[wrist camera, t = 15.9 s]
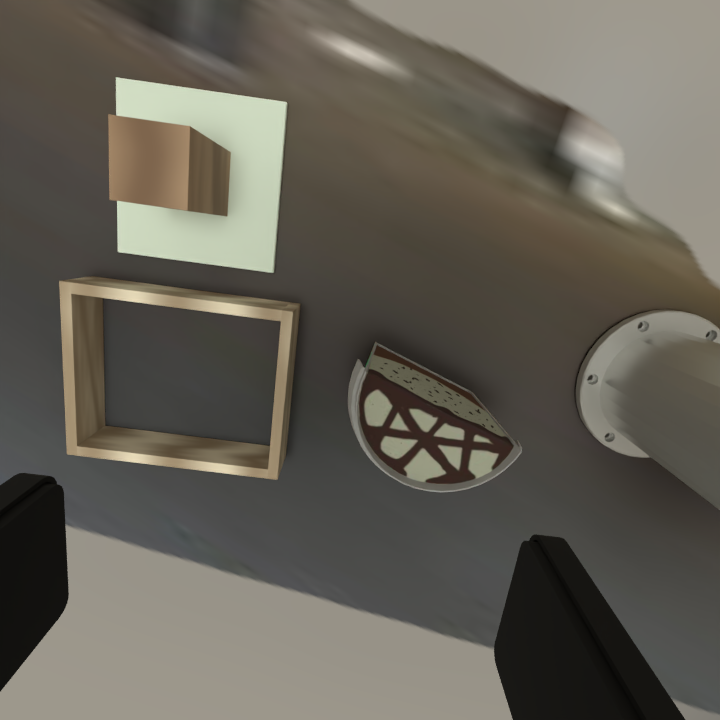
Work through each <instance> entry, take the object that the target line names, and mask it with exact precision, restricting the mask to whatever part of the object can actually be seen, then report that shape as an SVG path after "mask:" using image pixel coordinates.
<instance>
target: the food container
mask: <svg viewBox="0 0 720 720" xmlns="http://www.w3.org/2000/svg"><path fill="white" fill-rule="evenodd" d="M348 410H349V416H350V420H351V424H352V427H353V430H354V432H355V434H356V436H357V439H358V441H359V443H360V445H361V446H362V448H363V450H364V451H365V453H366V454H367V456H368V457H369V458H370V459H371V460H372V462H373V463H374V464H375V465H376V466H377V467H378V468H379V469H381V470H382V471H383V472H384V473H386V474H387V475H389V476H390V477H392V478H394V479H395V480H397V481H399V482H401V483H403V484H405V485H408V486H410V487H413V488H416V489H420V490H425V491H432V492H455V491H460V490H465V489H469V488H472V487H475V486H478V485H481V484H483V483H485V482H487V481H489V480H491V479H493V478H494V477H496V476H497V475H499V474H500V473H501V472H503V471H504V470H505V469H506V468H508V467H509V466H510V465H511V464H512V463H513V462H514V461H515V460H516V459H517V457H518V456H519V455H520V454H521V452H522V447H521V445H520V443H519V441H518V440H516V441H515V442H514V440H513V439H512V438H511V437H510V436H509V434H508V433H507V432H506V431H505V430H504V429H503V427H502V426H501V425H500V424H499V423H498V422H497V420H496V419H495V418H494V417H493V416H492V414H491V413H490V412H489V411H488V410H487V409H486V407H485V406H484V405H483V404H482V403H481V402H480V400H479V399H478V398H477V397H476V396H475V394H474V393H473V392H471V391H469V390H467V389H466V388H464V387H462V386H460V385H458V384H456V383H454V382H452V381H450V380H448V379H446V378H444V377H442V376H440V375H439V374H437V373H435V372H433V371H431V370H429V369H427V368H425V367H423V366H421V365H419V364H417V363H415V362H413V361H411V360H410V359H408V358H406V357H404V356H402V355H400V354H398V353H396V352H394V351H392V350H390V349H388V348H386V347H384V346H383V345H381V344H379V343H377V342H375V343H374V346H373V348H372V350H371V352H370V355H369V358H368V360H367V363H366V366H365V368H364V367H363V365H362V363H361V361H360V360H359V359H358V360H357V362H356V365H355V367H354V369H353V372H352V376H351V380H350V383H349V391H348Z"/></svg>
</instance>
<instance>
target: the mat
mask: <svg viewBox="0 0 720 720" xmlns="http://www.w3.org/2000/svg"><path fill="white" fill-rule="evenodd" d="M287 108H288V104H287V102H282V101H275V100H268V99H261V98H254V97H247V96H240V95H234V94H227V93H220V92H213V91H206V90H199V89H192V88H185V87H178V86H172V85H165V84H158V83H151V82H144V81H137V80H130V79H123V78H116V115H117V116H123V117H130V118H137V119H144V120H151V121H158V122H165V123H172V124H179V125H186V126H191V127H192V128H194V129H195V130H197V131H198V132H200V133H202V134H203V135H205V136H206V137H208V138H209V139H211V140H212V141H214V142H216V143H217V144H219V145H220V146H222V147H223V148H225V149H227V150H228V151H230V152H231V159H230V178H229V196H228V215H227V216H220V215H213V214H206V213H199V212H191V211H184V210H177V209H170V208H163V207H156V206H149V205H142V204H136V203H129V202H122V201H117V224H118V252H121V253H129V254H136V255H144V256H151V257H159V258H166V259H174V260H181V261H188V262H196V263H203V264H211V265H218V266H226V267H233V268H241V269H248V270H255V271H263V272H270V273H274V269H275V257H276V244H277V232H278V219H279V207H280V194H281V182H282V170H283V157H284V145H285V132H286V120H287Z"/></svg>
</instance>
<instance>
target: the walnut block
mask: <svg viewBox="0 0 720 720" xmlns="http://www.w3.org/2000/svg"><path fill="white" fill-rule="evenodd" d="M230 159H231V152H230V151H228V150H227V149H225V148H223V147H222V146H220V145H219V144H217V143H216V142H214V141H212V140H211V139H209V138H208V137H206V136H205V135H203V134H202V133H200V132H198V131H197V130H195V129H194V128H192V127H191V126H186V125H179V124H172V123H165V122H158V121H151V120H144V119H137V118H130V117H123V116H117V115H110V114H109V192H110V200H115V201H122V202H129V203H136V204H142V205H149V206H156V207H163V208H170V209H177V210H184V211H191V212H199V213H206V214H213V215H220V216H227V215H228V196H229V178H230Z"/></svg>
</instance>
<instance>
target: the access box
mask: <svg viewBox="0 0 720 720" xmlns="http://www.w3.org/2000/svg"><path fill="white" fill-rule="evenodd" d="M59 285H60V308H61V330H62V353H63V375H64V397H65V420H66V442H67V454H69V455H78V456H86V457H94V458H102V459H111V460H119V461H127V462H135V463H144V464H152V465H160V466H168V467H177V468H185V469H193V470H201V471H210V472H218V473H226V474H234V475H243V476H251V477H259V478H267V479H276V480H277V479H278V476H279V474H280V471H281V468H282V465H283V462H284V459H285V457H286V448H287V437H288V427H289V417H290V407H291V396H292V386H293V376H294V366H295V356H296V345H297V335H298V325H299V315H300V304H298V303H291V302H283V301H276V300H268V299H261V298H253V297H246V296H238V295H230V294H223V293H215V292H208V291H200V290H193V289H185V288H178V287H170V286H163V285H155V284H148V283H140V282H132V281H125V280H117V279H110V278H102V277H95V276H90V277H83V278H76V279H69V280H62V281H59ZM103 298H108V299H115V300H123V301H131V302H138V303H146V304H153V305H161V306H169V307H176V308H184V309H191V310H199V311H207V312H214V313H222V314H230V315H237V316H245V317H252V318H260V319H268V320H275V321H281V327H280V339H279V350H278V362H277V373H276V385H275V396H274V408H273V419H272V431H271V442H270V446H267V445H259V444H251V443H243V442H235V441H227V440H218V439H210V438H202V437H194V436H186V435H178V434H170V433H162V432H154V431H145V430H137V429H129V428H121V427H113V426H105V387H104V336H103Z"/></svg>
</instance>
